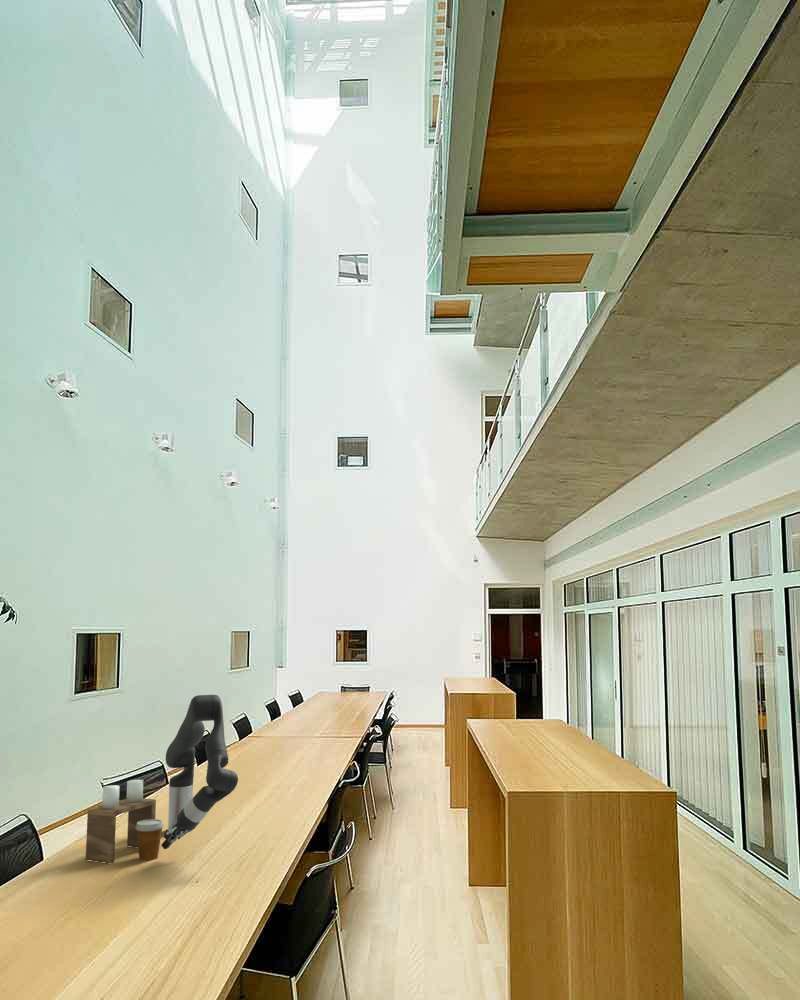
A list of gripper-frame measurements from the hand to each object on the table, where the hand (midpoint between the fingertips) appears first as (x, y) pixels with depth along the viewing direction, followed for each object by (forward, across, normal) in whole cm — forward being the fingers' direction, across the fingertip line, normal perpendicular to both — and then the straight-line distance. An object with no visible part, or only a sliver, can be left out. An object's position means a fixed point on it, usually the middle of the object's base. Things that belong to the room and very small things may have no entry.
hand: (164, 846), depth 287 cm
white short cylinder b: (+5, +6, -22) cm, 24 cm away
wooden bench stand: (+17, 0, -10) cm, 20 cm away
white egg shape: (+5, -6, -22) cm, 24 cm away
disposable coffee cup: (+8, 0, -2) cm, 8 cm away
